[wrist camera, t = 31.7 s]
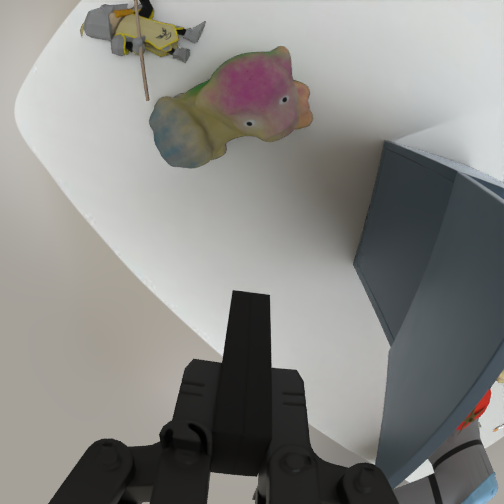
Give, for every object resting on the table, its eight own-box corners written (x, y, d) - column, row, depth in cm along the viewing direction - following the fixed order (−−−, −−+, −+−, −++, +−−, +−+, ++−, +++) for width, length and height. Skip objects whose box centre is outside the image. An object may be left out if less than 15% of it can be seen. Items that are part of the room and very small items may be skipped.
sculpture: (190, 181, 32) (156, 211, 23) (152, 111, 29) (104, 115, 20) (322, 119, 29) (342, 122, 20) (283, 43, 26) (285, 14, 17)
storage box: (471, 167, 30) (553, 209, 17) (435, 276, 37) (490, 348, 24) (384, 140, 30) (458, 171, 17) (352, 264, 36) (391, 349, 23)
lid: (567, 250, 5) (550, 241, 6) (381, 499, 12) (367, 496, 12) (467, 175, 16) (456, 171, 17) (397, 354, 23) (388, 351, 23)
